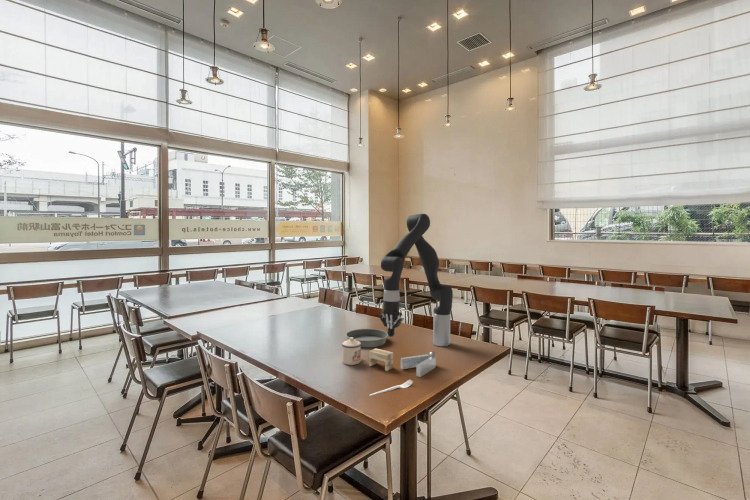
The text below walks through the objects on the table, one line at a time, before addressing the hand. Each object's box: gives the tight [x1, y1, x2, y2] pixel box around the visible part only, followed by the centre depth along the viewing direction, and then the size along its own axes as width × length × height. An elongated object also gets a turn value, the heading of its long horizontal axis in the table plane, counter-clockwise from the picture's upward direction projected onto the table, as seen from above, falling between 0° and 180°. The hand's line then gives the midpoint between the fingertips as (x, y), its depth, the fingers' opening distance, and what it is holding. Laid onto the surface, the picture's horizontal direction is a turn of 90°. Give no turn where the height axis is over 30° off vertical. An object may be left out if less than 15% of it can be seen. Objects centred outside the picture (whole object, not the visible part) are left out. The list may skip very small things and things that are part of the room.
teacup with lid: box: [341, 337, 362, 366], centre depth 171 cm, size 12×9×12 cm
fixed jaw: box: [415, 356, 437, 378], centre depth 159 cm, size 14×2×5 cm, turn 143°
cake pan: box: [344, 328, 389, 348], centre depth 203 cm, size 25×25×4 cm
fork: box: [369, 379, 414, 396], centre depth 140 cm, size 3×20×2 cm, turn 122°
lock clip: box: [368, 347, 394, 372], centre depth 164 cm, size 5×10×7 cm, turn 54°
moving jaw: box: [400, 350, 436, 370], centre depth 164 cm, size 17×4×6 cm, turn 114°
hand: (390, 336), depth 168 cm, fingers closed
